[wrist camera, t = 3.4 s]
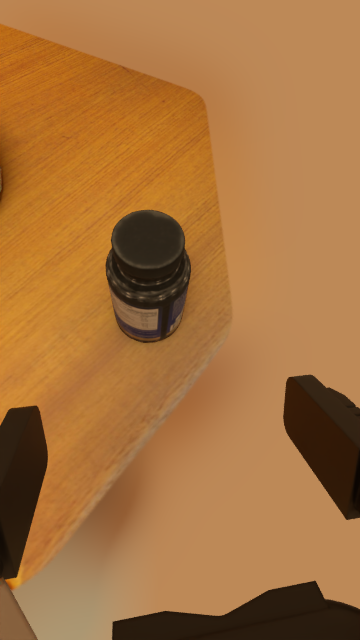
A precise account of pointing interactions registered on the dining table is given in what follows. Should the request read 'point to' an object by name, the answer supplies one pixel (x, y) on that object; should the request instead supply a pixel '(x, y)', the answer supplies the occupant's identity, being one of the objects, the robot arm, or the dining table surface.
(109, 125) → the dining table surface
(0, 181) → the bowl
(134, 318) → the pill bottle
